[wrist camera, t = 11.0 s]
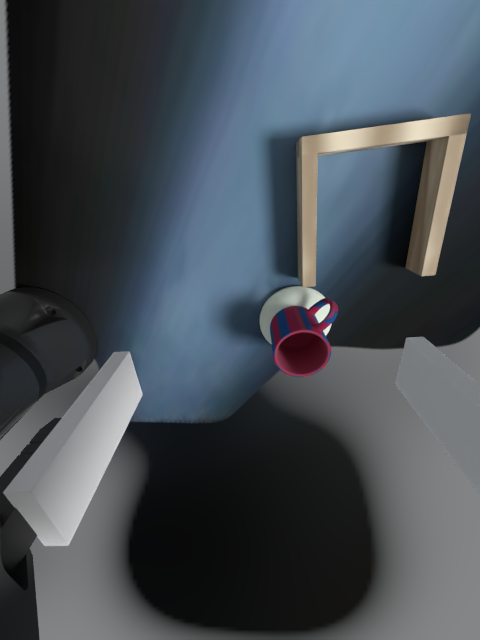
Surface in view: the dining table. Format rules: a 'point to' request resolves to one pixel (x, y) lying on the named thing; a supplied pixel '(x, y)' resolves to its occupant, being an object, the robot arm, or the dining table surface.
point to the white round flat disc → (291, 298)
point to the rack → (432, 195)
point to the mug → (301, 339)
